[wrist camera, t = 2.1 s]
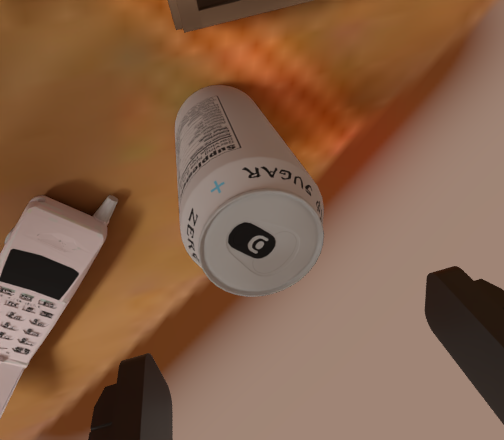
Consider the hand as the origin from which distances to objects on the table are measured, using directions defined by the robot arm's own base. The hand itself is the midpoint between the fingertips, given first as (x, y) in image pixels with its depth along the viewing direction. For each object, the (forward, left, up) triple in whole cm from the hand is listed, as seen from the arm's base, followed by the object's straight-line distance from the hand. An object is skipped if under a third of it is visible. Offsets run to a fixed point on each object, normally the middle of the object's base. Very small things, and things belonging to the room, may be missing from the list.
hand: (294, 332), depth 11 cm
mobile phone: (-19, -10, -20) cm, 29 cm away
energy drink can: (0, 0, -19) cm, 19 cm away
